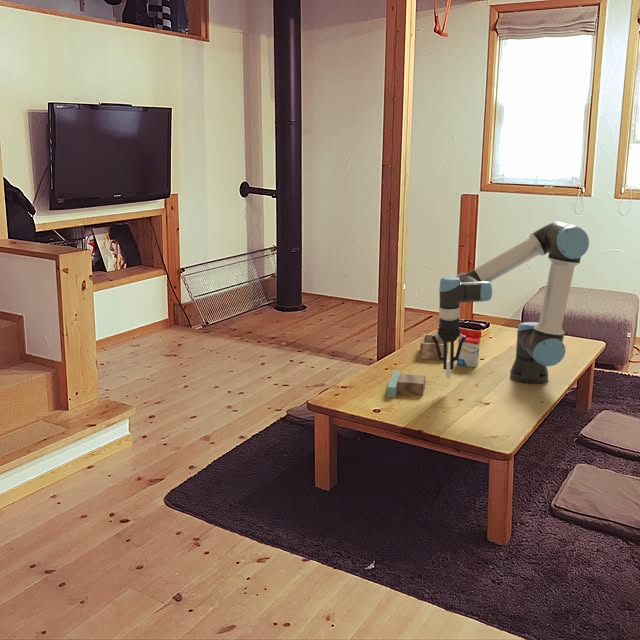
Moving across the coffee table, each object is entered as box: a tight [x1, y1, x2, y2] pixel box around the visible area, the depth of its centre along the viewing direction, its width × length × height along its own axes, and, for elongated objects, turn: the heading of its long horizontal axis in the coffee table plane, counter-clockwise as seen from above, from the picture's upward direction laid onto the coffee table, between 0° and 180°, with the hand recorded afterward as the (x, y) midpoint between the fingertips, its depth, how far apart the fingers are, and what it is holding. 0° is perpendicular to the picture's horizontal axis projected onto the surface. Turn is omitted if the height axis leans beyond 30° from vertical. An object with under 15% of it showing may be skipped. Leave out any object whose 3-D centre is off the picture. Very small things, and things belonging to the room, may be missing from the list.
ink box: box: [456, 329, 481, 368], centre depth 335 cm, size 8×5×15 cm, turn 68°
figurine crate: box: [419, 333, 450, 361], centre depth 350 cm, size 12×16×7 cm
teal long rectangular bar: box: [386, 370, 402, 399], centre depth 305 cm, size 3×20×4 cm, turn 168°
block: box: [396, 373, 427, 396], centre depth 304 cm, size 10×10×5 cm
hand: (448, 377), depth 302 cm, fingers closed
